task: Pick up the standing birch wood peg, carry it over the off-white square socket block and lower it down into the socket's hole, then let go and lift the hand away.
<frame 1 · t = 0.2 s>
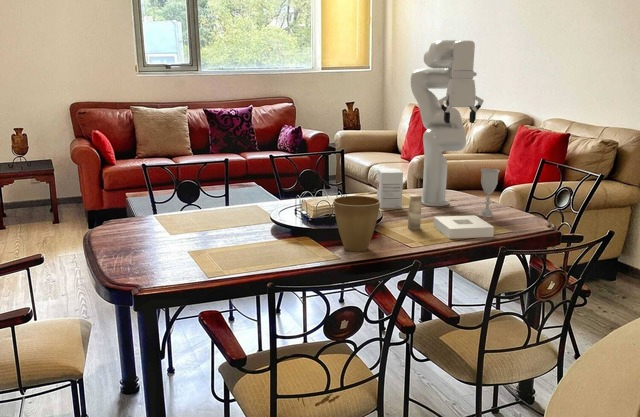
hand: (459, 122, 232), 36 cm above the table, tool pointing down, fingers open, 9 cm apart
supplement box: (388, 206, 259), on the table
plant pot: (355, 248, 203), on the table
peg: (413, 228, 226), on the table
socket: (462, 231, 223), on the table
chalice: (486, 215, 245), on the table
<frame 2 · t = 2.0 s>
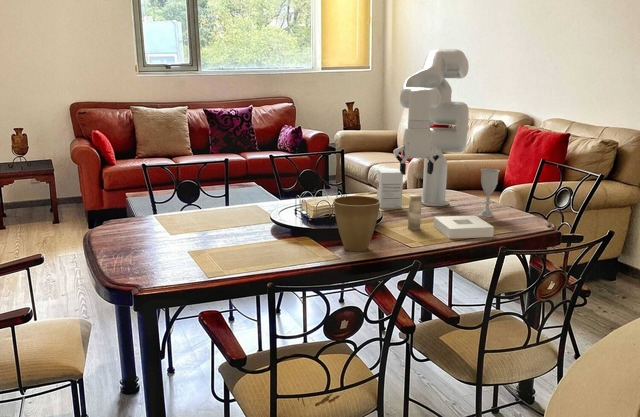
hand: (416, 173, 221), 20 cm above the table, tool pointing down, fingers open, 9 cm apart
nothing on the table moved.
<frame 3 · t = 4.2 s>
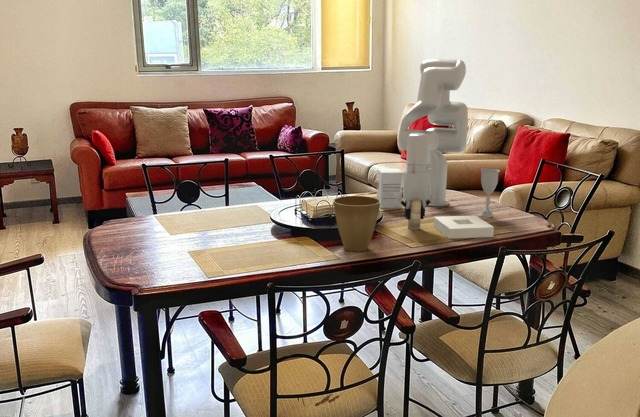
hand: (414, 218, 225), 4 cm above the table, tool pointing down, fingers closed on peg, 4 cm apart
peg: (413, 228, 226), on the table, touching gripper
everything else where it was.
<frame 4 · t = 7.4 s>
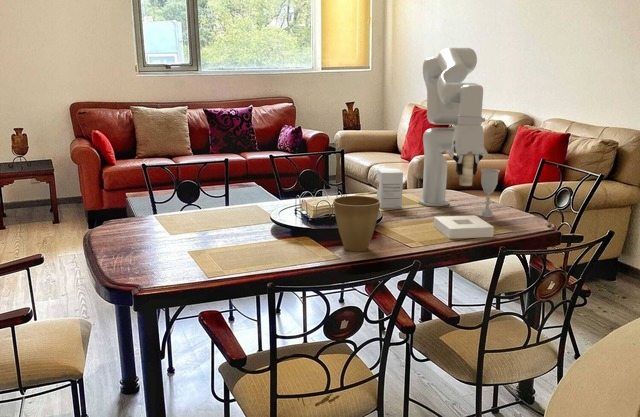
hand: (466, 173, 218), 21 cm above the table, tool pointing down, fingers closed on peg, 4 cm apart
peg: (465, 184, 219), point 17 cm above the table, touching gripper
everything else where it was.
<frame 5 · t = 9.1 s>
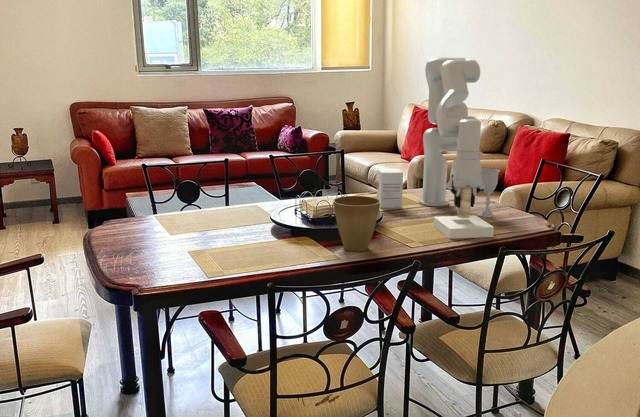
hand: (464, 206, 221), 9 cm above the table, tool pointing down, fingers closed on peg, 4 cm apart
peg: (463, 216, 222), point 5 cm above the table, touching gripper
everything else where it was.
when the fingers open (4 cm above the table, at t = 10.6 s): peg stays where it is, resting in socket.
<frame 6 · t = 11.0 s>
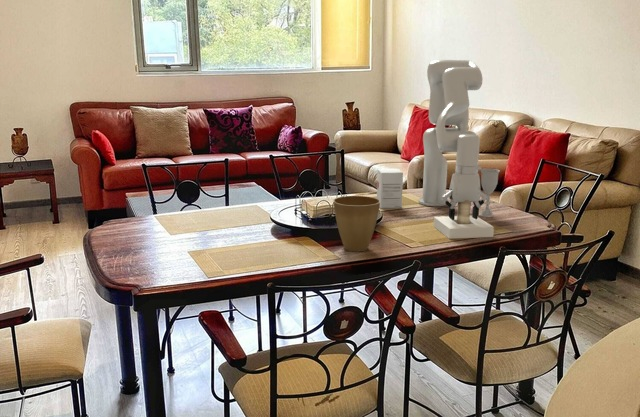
hand: (463, 218, 222), 5 cm above the table, tool pointing down, fingers open, 8 cm apart
peg: (462, 231, 223), resting in socket
everything else where it was.
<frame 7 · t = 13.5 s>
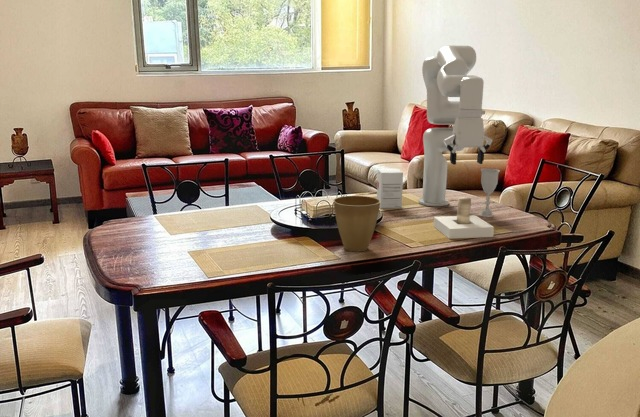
hand: (466, 163, 218), 24 cm above the table, tool pointing down, fingers open, 9 cm apart
nothing on the table moved.
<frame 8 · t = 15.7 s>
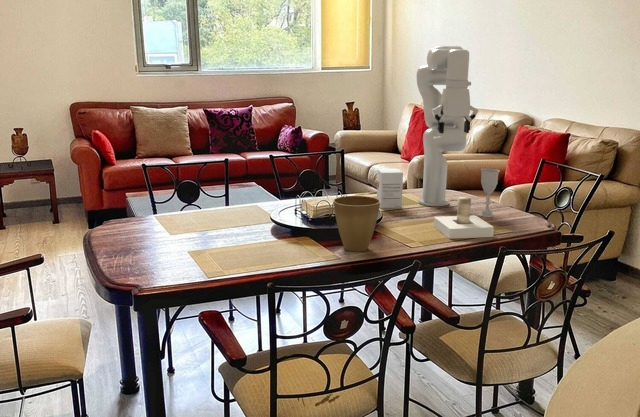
hand: (453, 132, 228), 33 cm above the table, tool pointing down, fingers open, 9 cm apart
nothing on the table moved.
at the end: peg 0.0 cm off-centre on the socket, point 0.0 cm above the socket's base; peg tilted 0°; the gripper is holding nothing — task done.
